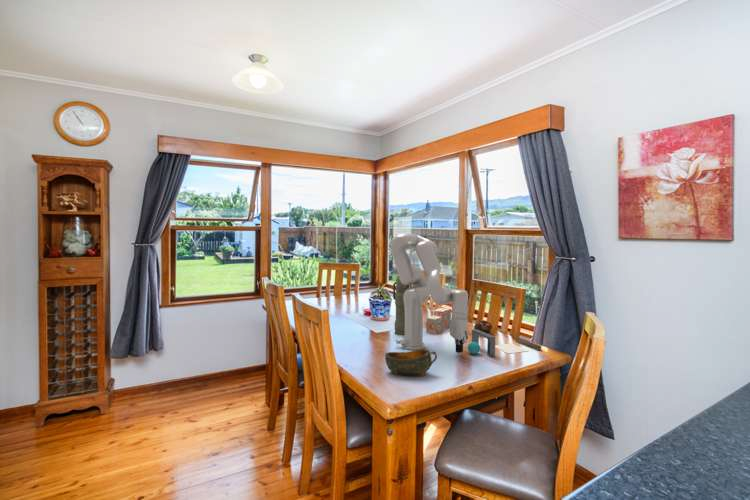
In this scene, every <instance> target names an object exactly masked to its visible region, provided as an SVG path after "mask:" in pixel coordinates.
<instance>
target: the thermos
mask: <svg viewBox="0 0 750 500" xmlns="http://www.w3.org/2000/svg"><path fill="white" fill-rule="evenodd" d="M392 285H393V286H392V288H393V289H392V294H393V295H392V297H393V298H392V299H393V300H394V304H395V320H394V334H395V335H398V336H405V307H404V300H403V296H404V293H405V291H406V290H407V289H408V288H410V287H411V285H404V284H402V282H401V281H400V278H399V275H398V274H397V276H396V280H395V282H394V283H393V284H392Z"/></svg>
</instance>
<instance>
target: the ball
mask: <svg viewBox="0 0 750 500" xmlns="http://www.w3.org/2000/svg"><path fill="white" fill-rule="evenodd" d="M467 350H468V351H467V352H469V354H472V355H478V354H479V353H480V350H481V346H480V344H478V343H476V342H472V341H471V342H469V343H468V345H467Z"/></svg>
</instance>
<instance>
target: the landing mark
mask: <svg viewBox="0 0 750 500" xmlns="http://www.w3.org/2000/svg"><path fill="white" fill-rule="evenodd" d="M495 349H496V350H500V351H501V352H504V353H506V354H510V355H511V354H518V353H525V352H529V350H528V349H526V348H524V347H521V346H518V345H517V344H513V343H504V344H495Z"/></svg>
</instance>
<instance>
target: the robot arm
mask: <svg viewBox="0 0 750 500" xmlns="http://www.w3.org/2000/svg"><path fill="white" fill-rule="evenodd" d="M389 249H390V254H391V256H392V259H393V261H394V265H395V267H396V272H397V276H398V275H399V278H400V281H401V282H402V284H404V285H411V287H410V286H409V288H408V289H407V290H406V291H405V293H404V296H403V300H404V307H405V335H404V337H402V338H401V339H396V340H395V344H396V345H399V344H400V345H401V347H402V348H403V349H406V350H409V351H416V350H423V349H425V348H426V346H427V345H426V343H424V341H423V335H424V330H423V329H424V312H423V311H424V310H423V306H422V303H423V304H424V303H425V302H427V301H428V300H429V299H430V297H431V299H432V301H433V302H434V304H437V305H438V306H444V305H447V304H450V303H451V322H450V328H449V335H450V337H452V338H453V339H454V344H455V352H456V353H457V354H460V353H461V354H462V353H463V352H464V344H466V343H468V342H467V340H468V339H469V319H468V317H469V316H468V313H469V312H468V309H469V307H468V306H469V305H468V303H469V297H468V296H469V293H468V291H467V290H465V289H455V288H451V287H444V288H443V285H442V282H441V280H440V275H441V274H440V273H441V270H442V266H441V264H440V262H439V259H438V257H437V255H436V254H437V253H438V250H439V249H438V245H437V244H436V242H435V241H433V240H431V239H428V238H425V237H423V236H421V235H418V234H416V233H400V234H398V235H395V236H394V238H393V239H392V240H391V243H390V248H389ZM407 250H414V251H415V253H416V255H417V258H418V259H419V263H420V265H421V267H422V268H420V267H419V266H416V265H415V266H414V265H413V263H412V261H411V258H410V255H409V254H408V253H407ZM422 269H423V270H422Z"/></svg>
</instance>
